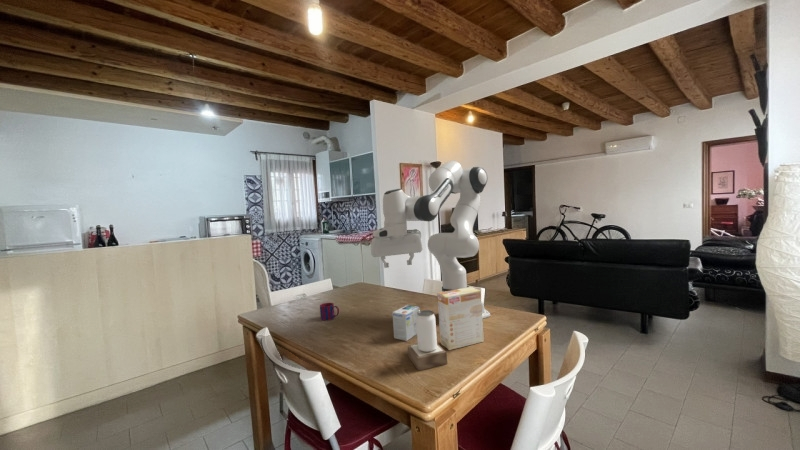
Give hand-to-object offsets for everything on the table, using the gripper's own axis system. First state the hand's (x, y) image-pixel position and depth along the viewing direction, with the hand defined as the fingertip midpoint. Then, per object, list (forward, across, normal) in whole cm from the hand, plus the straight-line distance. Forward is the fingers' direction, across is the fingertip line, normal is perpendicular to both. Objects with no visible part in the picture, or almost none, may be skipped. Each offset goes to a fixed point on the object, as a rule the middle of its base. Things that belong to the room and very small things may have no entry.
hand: (398, 266), depth 120 cm
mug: (+29, +25, -39) cm, 55 cm away
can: (+25, -2, +20) cm, 32 cm away
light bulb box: (+29, -3, -3) cm, 30 cm away
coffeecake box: (+29, -19, +13) cm, 37 cm away
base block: (+29, -2, +20) cm, 35 cm away
